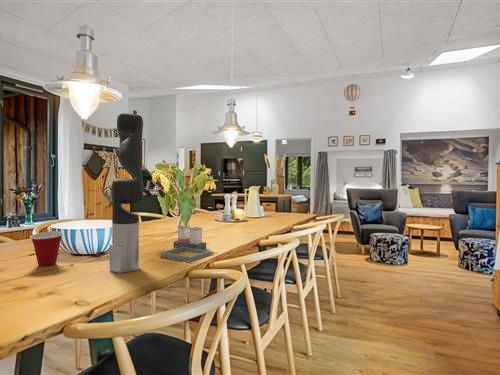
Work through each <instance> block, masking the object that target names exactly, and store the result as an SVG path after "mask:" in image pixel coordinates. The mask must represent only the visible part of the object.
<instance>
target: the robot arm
mask: <svg viewBox="0 0 500 375" xmlns="http://www.w3.org/2000/svg"><path fill="white" fill-rule="evenodd" d="M116 130H117V134H118V138H119V147H117V149H116V150H115V156H116V158H118V159H117V160H118V163H119V164H120V166H121V168H123V169H124V170H125V171H126V173H128V175H130V177H131V178H115V179H112V182H111V203H112V204H111V205H112V208H111V210H112V212H111V214H112V215H111V223H112V224H111V227H112V228H111V243H110V244H109V272H114V273H119V274H122V273H130V272H134V271H137V270H139V267H140V264H139V262H140V260H139V259H140V257H139V256H140V253H139V252H140V216H139V214H137V213H135V212H131V211H129V210H126V208H123V206H122V205H136V204H140V203H142V202H143V199H144V194H145V195H146V196H147V198H148V199H150V200H151V199H152V198H153V194H152V193H151V191H150V190H153V192H157V193H158V194H159V196H160V197H161V198H162V199H163V198H165V196H166V193H164V190H165V187H164V186H163V185H162V184H161V182H160V181H159V180H156V181H154V180H153V179H154V178H153V175H152V174H151V173H150V171H149V169H148V168H147V166H145V164H143V131H144V120H143V117H142V116H141V115H140V114H135V113H127V112H120V113H119V114H118V115H117V118H116Z"/></svg>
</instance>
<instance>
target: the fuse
mask: <svg viewBox="0 0 500 375" xmlns="http://www.w3.org/2000/svg"><path fill="white" fill-rule="evenodd" d="M202 242H203V227H201V226H200V227H199V226H194V227H190V243H192V244H200V243H202Z"/></svg>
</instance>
